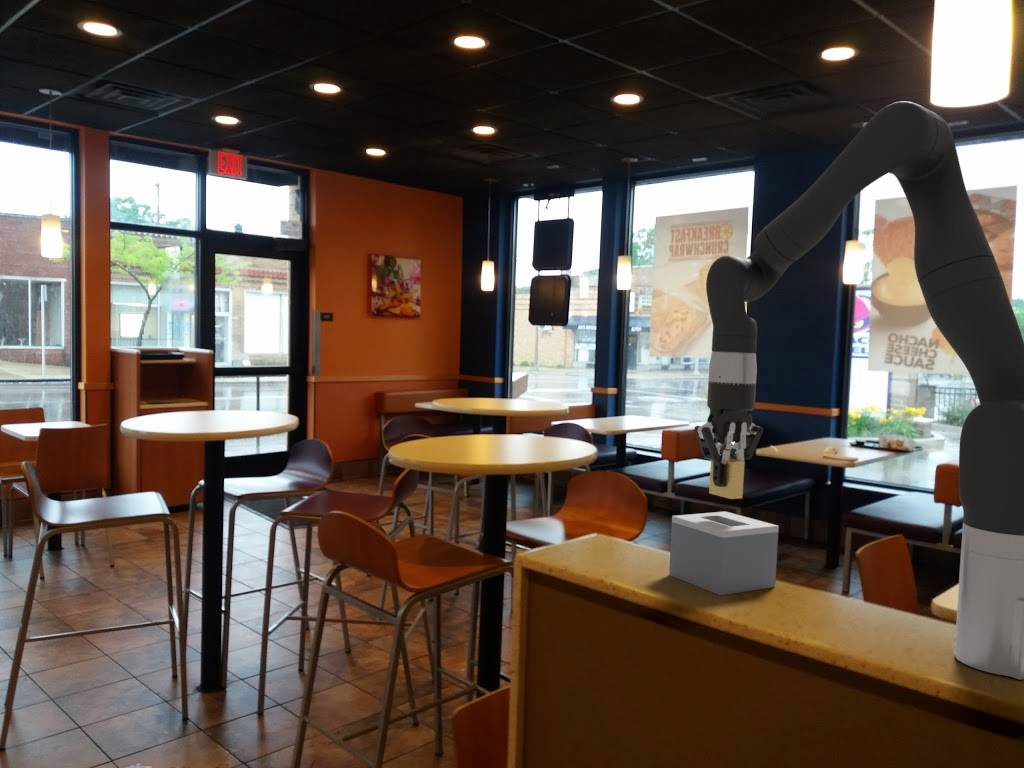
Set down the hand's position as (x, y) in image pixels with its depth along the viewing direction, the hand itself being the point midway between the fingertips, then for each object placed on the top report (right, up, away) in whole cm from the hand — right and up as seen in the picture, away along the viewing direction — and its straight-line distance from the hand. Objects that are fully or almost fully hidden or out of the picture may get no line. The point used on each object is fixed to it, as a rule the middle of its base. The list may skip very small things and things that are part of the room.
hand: (726, 485), depth 134 cm
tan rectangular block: (0, +1, 0) cm, 1 cm away
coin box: (-1, -16, +1) cm, 16 cm away
